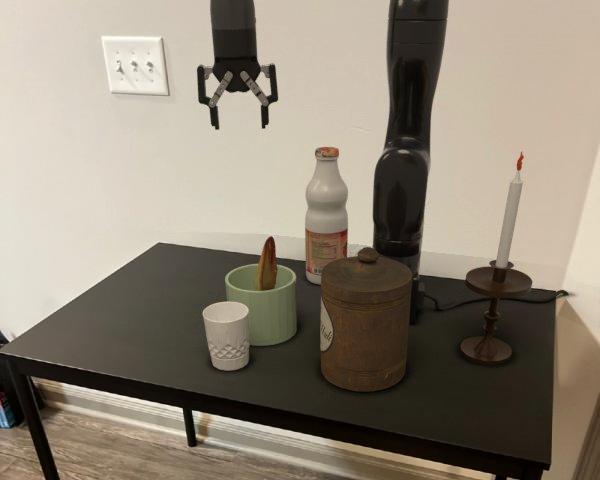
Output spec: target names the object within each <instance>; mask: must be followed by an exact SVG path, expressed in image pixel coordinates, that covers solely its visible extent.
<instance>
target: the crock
mask: <svg viewBox="0 0 600 480" xmlns="http://www.w3.org/2000/svg"><path fill="white" fill-rule="evenodd" d="M258 264H259V263H252V264H247V265H246V264H245V265H242V266H239V267H236V268H233V269H232V270H230V271H229V272H228V273H227V274H226V275H225V277H224V283H225V291H226V292H225V293H226V302H238V303H241V304H244V305H245V306H247V307H248V309H249V346H253V347H265V346H266V347H267V346H273V345H279V344H282V343H284V342H287V341H288V340H290V339H291V338H292V337H294V336H295V335H296V333H297V331H298V301H297V300H298V299H297V298H298V297H297V296H298V295H297V275H296V272H294V270H293V269H291V268H289V267H287V266H284V265H281V264H276V265H277V269H278V271H277V277H276V284H275V287H274V288H275V289H272V290H266V291H254V284H255V278H256V273H257V268H258Z"/></svg>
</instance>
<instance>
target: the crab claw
mask: <svg viewBox="0 0 600 480" xmlns="http://www.w3.org/2000/svg"><path fill="white" fill-rule="evenodd" d="M276 254H277V250H276V241H275V238H274V237H273V236H268V237H267V238H266V240H265V241H264V244H263V248H262V251H261V254H260V258H259V260H258V263H257V264H258V268H257V273H256V278H255V284H254V291H266V290H272V289H275V288H274V287H275V284H276V277H277V271H278V269H277V265H278V264H277V255H276Z"/></svg>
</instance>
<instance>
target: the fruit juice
mask: <svg viewBox="0 0 600 480" xmlns="http://www.w3.org/2000/svg"><path fill="white" fill-rule="evenodd" d="M339 158H340V150H339V148H337V147H333V146H321V147H317V148H315V150H314V159H315V160H316V162H315V168H314V171H313V174H312V177H311V178H310V180H309V182H308V183H307V185H306V187H305V195H304V196H305V202H306V205H307V209H306V211H305V214H304V215H305V217H304V235H305V236H304V240H305V241H304V242H305V244H304V249H305V250H304V251H305V276H306V280H307V281H309V282H310V283H312V284H314V285H320V286H321V272H322V269H323V268H324V267H325V266H326V265H327V264H328V263H330V262H332V261H335V260H338V259H341V258H346V257H348V244H349V243H348V241H349V240H348V239H349V238H348V237H349V215H348V211H347V207H346V205H347V202H348V199H349V189H348V185H347V184H346V182H345V181H344V180H343V178H342V176H341V173H340V169H339V165H338V163H339V162H338V159H339Z"/></svg>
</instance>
